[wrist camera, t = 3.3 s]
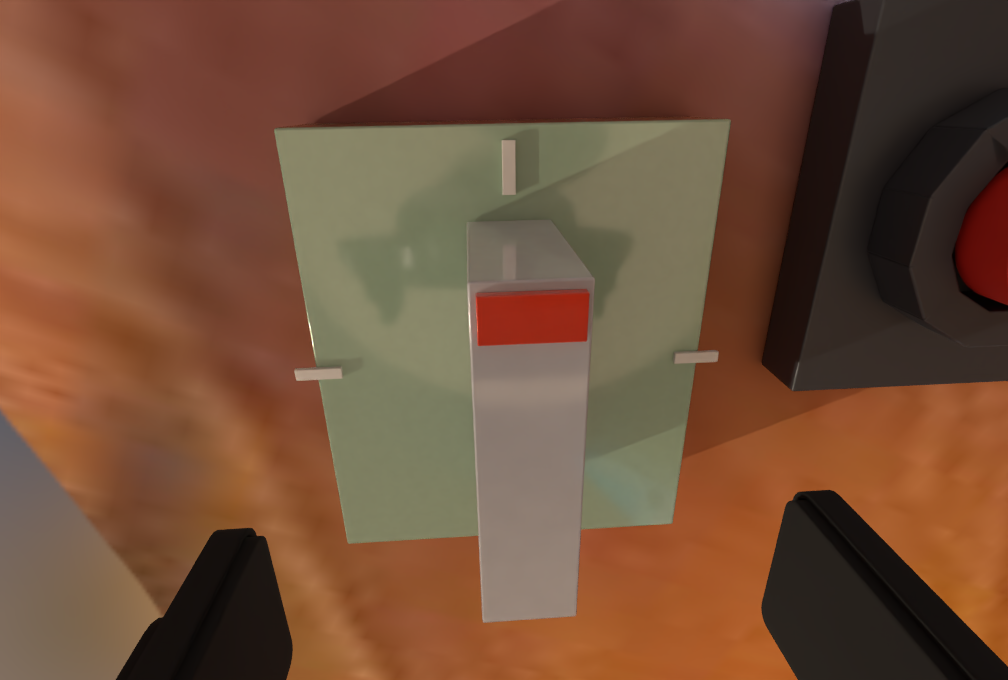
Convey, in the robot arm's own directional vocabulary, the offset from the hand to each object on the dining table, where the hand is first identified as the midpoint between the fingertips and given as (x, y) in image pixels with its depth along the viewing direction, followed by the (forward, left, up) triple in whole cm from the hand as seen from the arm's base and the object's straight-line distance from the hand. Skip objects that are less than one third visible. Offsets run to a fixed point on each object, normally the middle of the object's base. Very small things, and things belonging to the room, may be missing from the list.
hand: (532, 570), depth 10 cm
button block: (-4, +15, -11) cm, 19 cm away
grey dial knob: (0, 0, -8) cm, 8 cm away
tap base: (0, 0, -11) cm, 11 cm away
